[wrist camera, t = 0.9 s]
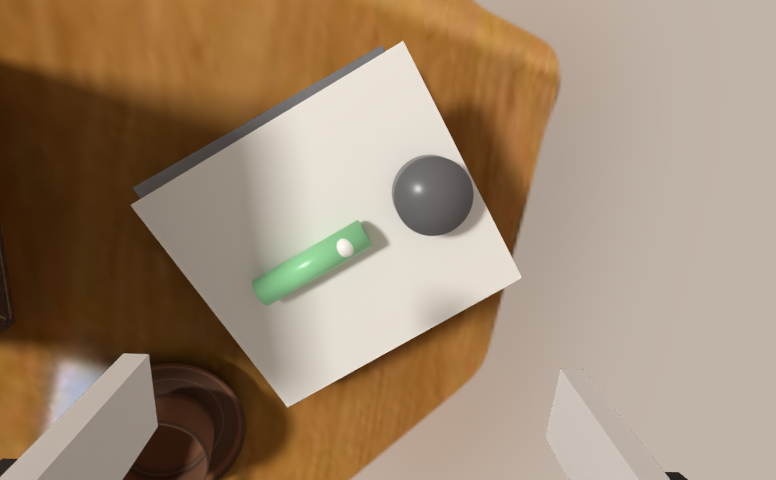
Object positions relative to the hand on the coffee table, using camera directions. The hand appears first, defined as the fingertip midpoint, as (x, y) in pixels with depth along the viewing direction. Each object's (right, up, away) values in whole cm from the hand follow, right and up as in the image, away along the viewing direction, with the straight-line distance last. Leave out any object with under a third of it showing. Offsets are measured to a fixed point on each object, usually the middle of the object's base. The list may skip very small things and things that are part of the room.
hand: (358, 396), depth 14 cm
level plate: (-3, +5, +17) cm, 18 cm away
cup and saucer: (-17, -10, +22) cm, 30 cm away
